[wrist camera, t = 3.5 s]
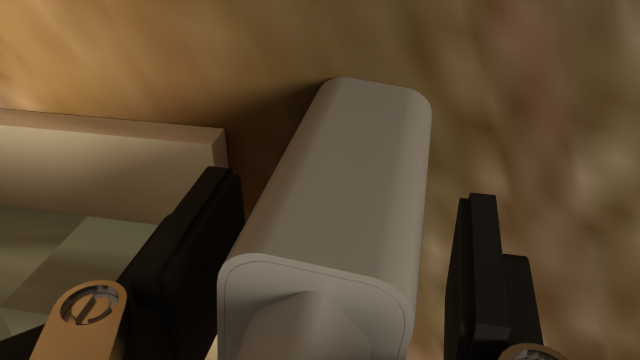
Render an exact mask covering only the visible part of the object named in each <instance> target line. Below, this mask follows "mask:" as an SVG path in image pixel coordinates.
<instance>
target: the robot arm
mask: <svg viewBox="0 0 640 360" xmlns="http://www.w3.org/2000/svg"><path fill="white" fill-rule="evenodd" d="M244 225H245V218H244V208H243V199H242V189H241V180H240V177H239V175H236V174H234V173H233V170H232V169H231V168H224V167H214V166H208V167H207V168H206V169H205V170H204V171H203V173H202V174H201V175H200V177H199V178H198V179H197V181H196V182H195V183H194V185H193V186H192V187H191V189H190V190H189V191H188V193H187V194H186V195H185V196H184V198H183V199H182V200H181V202H180V203H179V204H178V206H177V207H176V208H175V210H174V211H173V212H172V214H169V215H167V216H166V217H165V218H164V219H163V220H162V222H161V223H160V224H159V225H158V227H157V228H156V229H155V231H154V232H153V233H152V234H151V236H150V237H149V238H148V240H147V241H146V242H145V244H144V245H143V246H142V247H141V249H140V250H139V251H138V253H137V254H136V255H135V257H134V258H133V259H132V260H131V262H130V263H129V264H128V266H127V267H126V268H125V269H124V271H123V272H122V273H121V275H120V276H119V277H118V279H117V280H116V281H115V282H113V281H110V280H95V281H89V282H86V283H83V284H80V285H77V286H76V287H74V288H72V289H70V290H69V291H67V292H66V293H65V294H63V295H62V296H61V297H60V298H59V299H58V300H57V302H56V303H55V305H54V306H53V308H52V311H51V313H50V315H49V317H48V319H47V322H46V323H45V324H42V325H40V326H37V327H35V328H32V329H30V330H27V331H25V332H22V333H19V334H17V335H14V336H12V337H9V338H7V339H4V340H1V341H0V360H205V358H206V356H207V354H208V352H209V350H210V348H211V346H212V344H213V342H214V340H215V337H216V335H217V280H218V273H219V271H220V269H221V268H222V266H223V264H224V262H225V260H226V258H227V256H228V255H229V253H230V251H231V249H232V247H233V245H234V244H235V242H236V240H237V238H238V236H239V234H240V233H241V231H242V229H243V227H244ZM444 360H569V359H568V358H566V357H565V356H564V355H562V354H561V353H560V352H558V351H555V350H553V349H551V348H549V347H547V346H544V344H543V339H542V333H541V327H540V322H539V316H538V310H537V304H536V299H535V293H534V287H533V281H532V276H531V270H530V264H529V260H528V258H527V257H526V256H518V255H510V254H502V247H501V238H500V229H499V220H498V212H497V203H496V196H495V195H488V194H479V193H470V195H469V199H466V198H460V200H459V206H458V212H457V219H456V226H455V232H454V239H453V245H452V252H451V259H450V265H449V272H448V278H447V285H446V294H445V324H444Z"/></svg>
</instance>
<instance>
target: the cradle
mask: <svg viewBox="0 0 640 360" xmlns="http://www.w3.org/2000/svg"><path fill="white" fill-rule="evenodd" d="M208 166H214V167H224V168H229V165H228V156H227V148H226V139H225V131H224V129H223V128H212V127H201V126H189V125H178V124H167V123H155V122H144V121H133V120H122V119H110V118H99V117H88V116H76V115H65V114H54V113H42V112H31V111H20V110H8V109H0V341H1V340H4V339H7V338H9V337H12V336H14V335H17V334H19V333H22V332H25V331H27V330H30V329H32V328H35V327H37V326H40V325H42V324H45V323H46V322H47V319H48V317H49V315H50V313H51V311H52V308H53V306H54V305H55V303H56V302H57V300H58V299H59V298H60V297H61V296H62V295H63V294H65V293H66V292H67V291H69V290H70V289H72V288H74V287H76V286H77V285H80V284H83V283H86V282H89V281H95V280H110V281H113V282H115V281H116V280H117V279H118V277H119V276H120V275H121V273H122V272H123V271H124V269H125V268H126V267H127V266H128V264H129V263H130V262H131V260H132V259H133V258H134V257H135V255H136V254H137V253H138V251H139V250H140V249H141V247H142V246H143V245H144V244H145V242H146V241H147V240H148V238H149V237H150V236H151V234H152V233H153V232H154V231H155V229H156V228H157V227H158V225H159V224H160V223H161V222H162V220H163V219H164V218H165V217H166V216H167V215H169V214H172V212H173V211H174V210H175V208H176V207H177V206H178V204H179V203H180V202H181V200H182V199H183V198H184V196H185V195H186V194H187V193H188V191H189V190H190V189H191V187H192V186H193V185H194V183H195V182H196V181H197V179H198V178H199V177H200V175H201V174H202V173H203V171H204V170H205V169H206V168H207V167H208ZM205 360H218V357H217V335H216V337H215V340H214V342H213V344H212V346H211V348H210V350H209V352H208V354H207V356H206V358H205Z"/></svg>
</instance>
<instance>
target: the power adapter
mask: <svg viewBox="0 0 640 360" xmlns="http://www.w3.org/2000/svg"><path fill="white" fill-rule="evenodd" d="M431 121H432V111H431V106H430V104H429V102H428V100H427V99H426V98H425V97H424V96H423V95H422V94H420V93H419V92H417V91H415V90H413V89H410V88H406V87H400V86H395V85H389V84H383V83H378V82H372V81H366V80H360V79H355V78H349V77H337V78H333V79H331V80H328V81H326V82H325V83H324V84H323V85H322V86H321V87H320V88H319V90H318V92H317V94H316V96H315V98H314V99H313V101H312V103H311V105H310V107H309V108H308V110H307V112H306V114H305V116H304V118H303V119H302V121H301V123H300V125H299V127H298V129H297V130H296V132H295V134H294V136H293V138H292V140H291V141H290V143H289V145H288V147H287V149H286V150H285V152H284V154H283V156H282V158H281V160H280V161H279V163H278V165H277V167H276V169H275V171H274V172H273V174H272V176H271V178H270V180H269V182H268V183H267V185H266V187H265V189H264V191H263V192H262V194H261V196H260V198H259V200H258V202H257V203H256V205H255V207H254V209H253V211H252V213H251V214H250V216H249V218H248V220H247V222H246V224H245V225H244V227H243V229H242V231H241V233H240V234H239V236H238V238H237V240H236V242H235V244H234V245H233V247H232V249H231V251H230V253H229V255H228V256H227V258H226V260H225V262H224V264H223V266H222V268H221V269H220V271H219V273H218V280H217V357H218V360H405V358H406V354H407V351H408V347H409V344H410V340H411V337H412V333H413V330H414V321H415V310H416V298H417V286H418V275H419V263H420V251H421V239H422V227H423V216H424V204H425V192H426V180H427V168H428V157H429V145H430V133H431Z"/></svg>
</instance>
